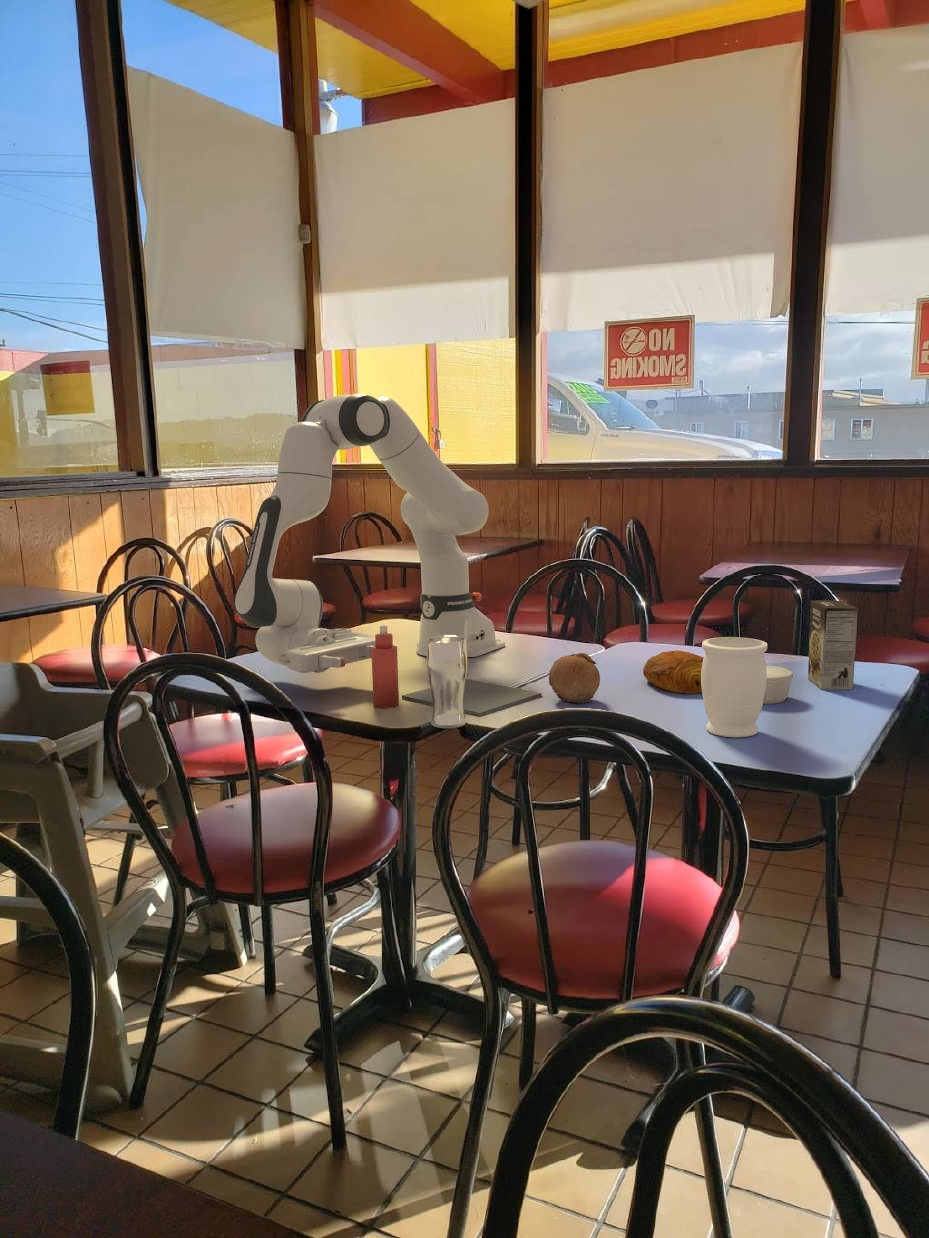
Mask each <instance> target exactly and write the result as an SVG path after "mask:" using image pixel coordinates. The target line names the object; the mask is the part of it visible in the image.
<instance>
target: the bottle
mask: <svg viewBox="0 0 929 1238" xmlns="http://www.w3.org/2000/svg"><path fill="white" fill-rule="evenodd" d="M374 637H375V645H376V646H373V647H372V648H371V654H372V659H371V676H372V677H371V678H372V679H371V680H372V704H373V705H372V706H373V707H375V708H378V709H392V708H396V707H398V706H399V705H400V700H399V699H400V695H399V693H400V691H399V690H400V689H399V666H398V665H399V664H398V646H396V645H394V643H393V640H394V637H393V634H392V633H388V626H387V625H380V626H379V633H376V634H375V635H374Z"/></svg>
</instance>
